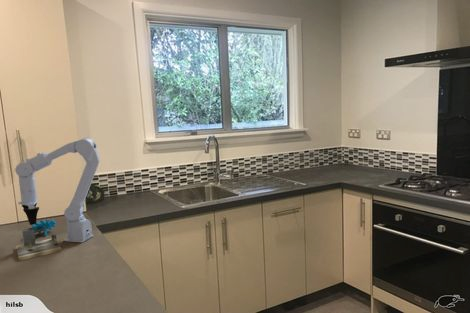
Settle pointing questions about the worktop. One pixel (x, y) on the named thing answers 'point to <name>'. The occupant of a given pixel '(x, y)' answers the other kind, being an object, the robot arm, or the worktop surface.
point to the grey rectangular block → (28, 237)
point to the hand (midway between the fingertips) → (32, 222)
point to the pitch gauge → (38, 248)
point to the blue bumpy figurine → (43, 226)
